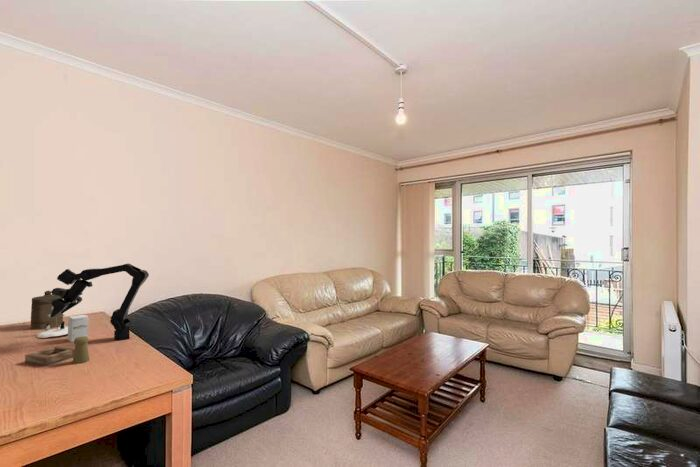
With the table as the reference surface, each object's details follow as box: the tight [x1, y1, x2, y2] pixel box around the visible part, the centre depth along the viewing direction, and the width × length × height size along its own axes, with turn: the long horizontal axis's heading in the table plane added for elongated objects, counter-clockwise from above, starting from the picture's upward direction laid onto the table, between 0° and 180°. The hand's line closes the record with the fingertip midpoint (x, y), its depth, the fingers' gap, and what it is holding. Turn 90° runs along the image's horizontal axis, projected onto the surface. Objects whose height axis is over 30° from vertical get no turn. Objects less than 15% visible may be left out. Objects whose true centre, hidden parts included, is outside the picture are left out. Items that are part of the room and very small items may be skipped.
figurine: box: [36, 307, 68, 339], centre depth 193 cm, size 20×18×16 cm
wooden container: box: [30, 290, 64, 330], centre depth 208 cm, size 15×15×22 cm
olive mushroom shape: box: [72, 336, 90, 365], centre depth 151 cm, size 6×6×11 cm
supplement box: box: [67, 314, 89, 343], centre depth 183 cm, size 7×7×13 cm
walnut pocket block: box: [24, 345, 75, 367], centre depth 153 cm, size 13×13×4 cm
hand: (56, 314), depth 177 cm, fingers open, 9 cm apart
